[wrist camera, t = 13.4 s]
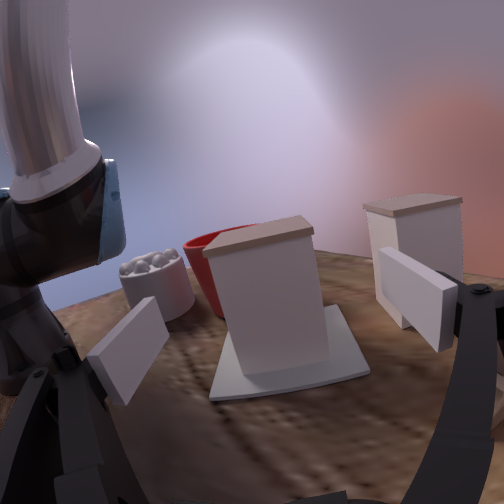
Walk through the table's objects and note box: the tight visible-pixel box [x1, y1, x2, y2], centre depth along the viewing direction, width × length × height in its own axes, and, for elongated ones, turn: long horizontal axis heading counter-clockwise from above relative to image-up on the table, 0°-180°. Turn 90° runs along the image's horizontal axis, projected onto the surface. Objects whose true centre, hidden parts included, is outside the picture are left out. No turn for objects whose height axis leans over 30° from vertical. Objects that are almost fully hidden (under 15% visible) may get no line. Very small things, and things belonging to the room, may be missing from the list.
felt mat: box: [209, 304, 370, 401], centre depth 24 cm, size 12×12×1 cm
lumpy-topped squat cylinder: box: [119, 248, 195, 322], centre depth 41 cm, size 10×13×9 cm
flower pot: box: [183, 224, 257, 318], centre depth 35 cm, size 11×11×10 cm
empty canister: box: [363, 193, 463, 329], centre depth 23 cm, size 7×7×10 cm
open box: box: [491, 341, 504, 431], centre depth 9 cm, size 4×4×4 cm
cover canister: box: [202, 215, 330, 375], centre depth 23 cm, size 7×7×10 cm
